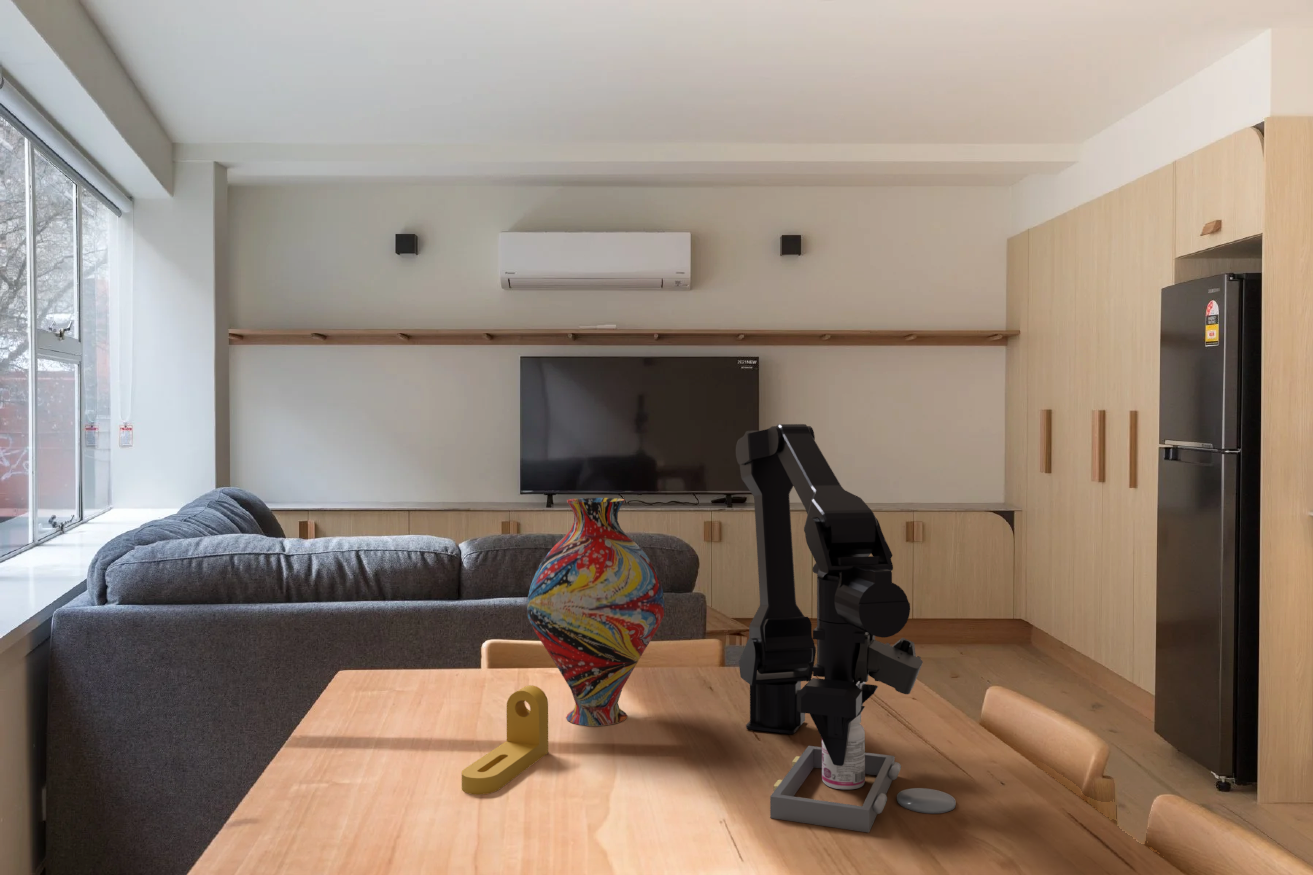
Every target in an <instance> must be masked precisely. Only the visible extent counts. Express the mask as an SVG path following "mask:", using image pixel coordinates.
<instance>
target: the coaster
mask: <svg viewBox="0 0 1313 875" xmlns="http://www.w3.org/2000/svg"><path fill="white" fill-rule="evenodd" d="M896 801H897V804H898V805H900V806H901V807H903V808H905V809H906V810H910V811H912V812H917V813H923V814H943V813H948V812H951V811H953V810H954V809H955V808H956V806H957V805H956V799H955V797H954V796H952V795H951V794H949V793H947V792H944V791H942V790H941V791H940V790H938V789H932V788H925V787H913V788H907V789H903V790H901V791H899V792H898V793H897V794H896Z"/></svg>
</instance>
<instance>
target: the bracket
mask: <svg viewBox="0 0 1313 875" xmlns="http://www.w3.org/2000/svg"><path fill="white" fill-rule="evenodd" d="M526 703H527V704H528V705H529V708H530V709H528V708H527V707H526ZM547 754H549V700H548V698H547V696H546V693H545V692H544V691H543V689H542V688H540V687H538V686H536V685H531V684H530V685H529V684H528V685H526V686H524V687H521V688H520V689H518V690H516V691H515V692H513V693H511V695H510V696H509V697H508V700H507V702H506V741H504V742H503V743H501V744H500V745H498V746H497V747H495V748H494V749H492V750H491V751H489V752H488V753H486V754H484V755H483V756H482V757H480V758H479V759H477V760H475V761H474V762H472V763H471V764H470V765H468V766H466V767H465V768H463V770H462V771H461V791H462V792H463V793H466V794H468V795H488V794H493V793H495V792H497V791H499V790H500V789H502V788H503V787H505V786H506V785H508V783H510V782H511V781H513V780H514V779H516V778H517V777H518V776H519V775H520V774H522V773H523V772H525V771H526V770H528V768H530V767H531V766H533V765H534V764H535V763H536V762H538V761H539V760H541V759H542V758H544V756H546V755H547Z"/></svg>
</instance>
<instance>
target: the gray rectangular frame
mask: <svg viewBox="0 0 1313 875" xmlns="http://www.w3.org/2000/svg"><path fill="white" fill-rule="evenodd" d="M895 758H896V757H895V755H888V754H881V753H880V754H879V753H873V752H872V753H871V752H865V775H871V776H876V777H875V779H874V781H873V783H872V785H871V787H870V790H869V791H868V794H867V795H866V798H865V800H864V802H863V804H862V806H861V805H856V804H850V805H849V804H848V803H843V802H842V803H843V804H842V803H841V802H836V803H835V801H828V800H820V799H814V798H813V799H812V798H806V797H800V796H795V795H796V793H797V792H798V791H799V789H800V788H801V787H802V785H803V784H804V782H805V781H806V779H807V778H808V776H809V775H810V773H811V771H813V769H814V768H817V769H822V746H816V745H815V746H813V745H808V746H807V747H806V748H805V750H804V751H803V753H801V755H800V756H797V755H796V756H795V757H794V759H793V760H791V768H790V770H789V771H787V772H788V773H787V774H786V775H785V776H784V778H783V779H777V781H776V782H775V783H774V785H773V792H772V793H771V795H770V798H769V799H770V802H769V805H770V808H769V809H770V810H769V811H770V815H769V816H770V819H776V820H783V821H789V822H795V823H801V824H802V823H803V824H808V825H816V826H821V827H822V826H823V827H830V828H835V829H842V830H848V831H849V830H850V831H856V832H863V833H870V831H871V830H872V826H873V824H874V822H875V821H876V817H877V815H880V814H882V813H883V810H884V808H885V806H886V803H887V801H888V797H887V793H888V791H889V789H890V786H891V784H892V782H893V781H895V780H897V779H898V776H899V773H900V771H901V768H902V766H901V764H900V762H896V761H895Z"/></svg>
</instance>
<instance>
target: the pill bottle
mask: <svg viewBox="0 0 1313 875" xmlns="http://www.w3.org/2000/svg"><path fill="white" fill-rule="evenodd" d="M861 723H862V713H861V714H860V715H859V716H858V717H856V718H855V719H853V720H852V721H851V726H850V732H849V738H848V744H847V750H846V755H845V760H844V764H843V766H838V765H834V764H833V762H832V760H831V758H830V756H829V754H828V751H827V749H826V747H825V745H824V742H823V740H822V739H821V747H822V768H821V780H822V782H823V784H825V785H826V786H827V787H830V788H832V789H837V790H850V791H851V790H857V789H860V788H862V787H863V786H864V785H865V782H866V774H865V753H866V752H865V751H866V749H865V748H866V747H865V746H866V745H865V744H866V740H865V739H866V737H865V735H866V734H865V733H866V732H865V728H864V726H863V725H862V724H861Z"/></svg>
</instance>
